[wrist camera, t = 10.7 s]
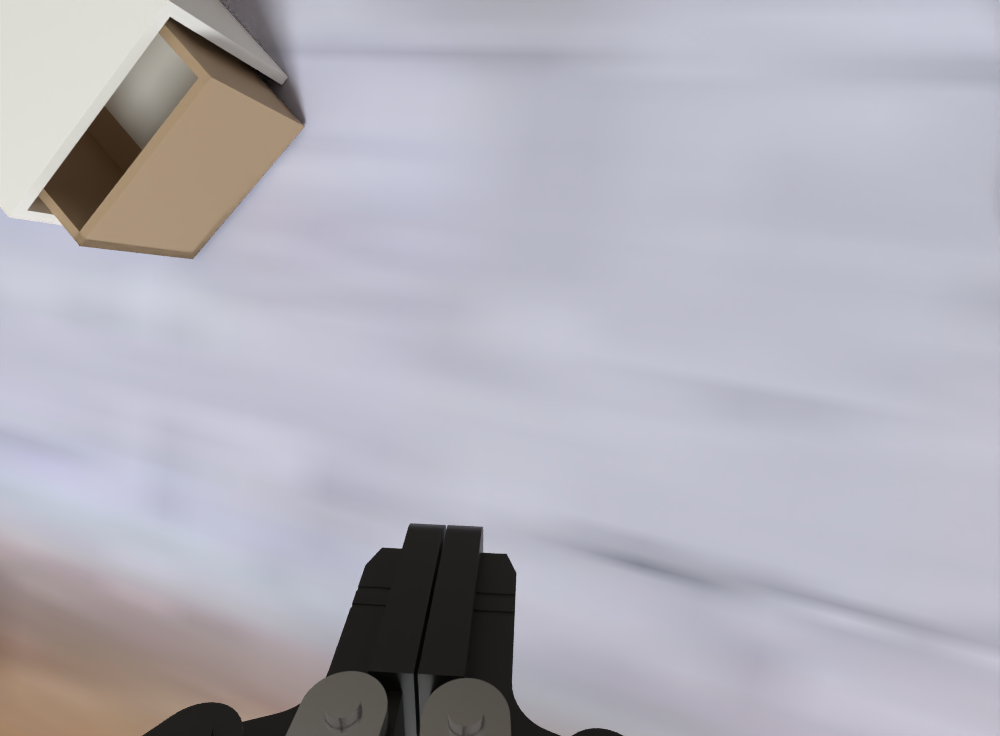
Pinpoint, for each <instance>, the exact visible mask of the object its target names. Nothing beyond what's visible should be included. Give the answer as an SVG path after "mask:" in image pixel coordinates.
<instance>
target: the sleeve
mask: <svg viewBox="0 0 1000 736" xmlns="http://www.w3.org/2000/svg"><path fill="white" fill-rule="evenodd" d="M169 17H171V18H173V19H174V20H176V21H178V22H179V23H181V24H183V25H184V26H186V27H188V28H189V29H191V30H193V31H194V32H196V33H197V34H199V35H201V36H202V37H204V38H206V39H207V40H209V41H211V42H212V43H214V44H216V45H217V46H219V47H220V48H222V49H224V50H225V51H227V52H229V53H230V54H232V55H234V56H235V57H237V58H239V59H240V60H242V61H243V62H245V63H247V64H248V65H250V66H252V67H253V68H255V69H257V70H258V71H260V72H262V73H263V74H265V75H266V76H268V77H270V78H271V79H273V80H275V81H276V82H278V83H280V84H281V85H282V84H283V83H284V82H285V81H286V79H287V78H288V76H287V75H286V74H285V73H284V72H283V71H282V70H281V68H280V67H279V66H278V65H277V64H276V63H275V62H274V61H273V60H272V59H271V57H270V56H269V55H268V54H267V53H266V52H265V51H264V50H263V49H262V47H261V46H260V45H259V44H258V43H257V42H256V41H255V40H254V39H253V38H252V36H251V35H250V34H249V33H248V32H247V31H246V30H245V29H244V28H243V26H242V25H241V24H240V23H239V22H238V21H237V20H236V19H235V18H234V17H233V15H232V14H231V13H230V12H229V11H228V10H227V9H226V8H225V7H224V5H223V4H222V3H221V2H220V1H219V0H0V207H1V208H2V209H3V211H4V212H5V213H6V214H7V216H8V217H11V218H17V219H24V220H31V221H38V222H45V223H51V224H58V225H62V224H61V223H60V221H59V220H58V219H57V218H56V217H55V215H54V214H53V213H52V212H51V211H50V209H49V208H48V207H47V206H46V205H45V203H44V202H43V201H42V200H41V198H40V197H39V196H38V195H39V194H40V192H41V191H42V190H43V188H44V187H45V185H46V184H47V183H48V181H49V180H50V179H51V177H52V176H53V175H54V173H55V172H56V171H57V169H58V168H59V166H60V165H61V164H62V162H63V161H64V160H65V158H66V157H67V156H68V154H69V153H70V152H71V150H72V149H73V148H74V146H75V145H76V143H77V142H78V141H79V139H80V138H81V137H82V135H83V134H84V133H85V131H86V130H87V129H88V127H89V126H90V124H91V123H92V122H93V120H94V119H95V118H96V116H97V115H98V114H99V112H100V111H101V110H102V108H103V107H104V105H105V104H106V103H107V101H108V100H109V99H110V97H111V96H112V95H113V93H114V92H115V91H116V89H117V88H118V86H119V85H120V84H121V82H122V81H123V80H124V78H125V77H126V76H127V74H128V73H129V72H130V70H131V69H132V68H133V66H134V65H135V63H136V62H137V61H138V59H139V58H140V57H141V55H142V54H143V53H144V51H145V50H146V49H147V47H148V46H149V44H150V43H151V42H152V40H153V39H154V38H155V36H156V35H157V34H158V32H159V31H160V30H161V28H162V27H163V25H164V24H165V23H166V21H167V20H168V19H169Z"/></svg>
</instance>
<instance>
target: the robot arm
mask: <svg viewBox="0 0 1000 736" xmlns="http://www.w3.org/2000/svg"><path fill="white" fill-rule="evenodd" d="M515 592H516V572H515V570H514V568H513V566H512V564H511V562H510V560H509V558H508V556H507V554H495V553H483V527H475V526H455V525H448V526H447V530H446V526H445V525H432V524H413V523H411V524H410V525H409V527H408V530H407V534H406V537H405V541H404V544H403V548H402V549H397V548H381V549H380V551H379V552H378V553H377V554H376V555H375V556H374V557H373V558H372V559H371V560H370V561H369V562H368V563H367V564H366V566H365V568H364V571H363V574H362V577H361V580H360V583H359V586H358V590H357V591H356V594H355V597H354V600H353V603H352V608H350V611H349V614H348V617H347V620H346V623H345V626H344V628H343V631H342V634H341V637H340V640H339V643H338V646H337V648H336V651H335V654H334V657H333V660H332V663H331V666H330V668H329V671H328V673H327V676H326V678H324V679H322V680H321V681H319V682H318V683H317V684H315V685H314V686H313V687H312V688H311V689H310V690H309V691H308V692H307V694H306V695H305V696H304V698H303V700H302V702H301V703H300V704H299V705H297V706H295V707H293V708H291V709H289V710H287V711H284V712H280V713H277V714H273V715H269V716H265V717H261V718H257V719H252V720H248V721H244V722H242V721H241V718H240V716H239V715H238V713H237V712H236V711H235V710H234V709H233V708H231V707H229V706H228V705H225V704H222V703H215V702H210V703H201V704H196V705H193V706H190V707H187V708H185V709H183V710H181V711H179V712H177V713H176V714H174V715H172V716H171V717H169V718H168V719H166V720H165V721H163V722H162V723H161V724H159V725H158V726H156V727H155V728H153V729H152V730H150V731H149V732H147V733H146V734H144V735H143V736H560V735H557V734H555V733H552V732H550V731H547V730H545V729H543V728H541V727H539V726H538V725H536V724H535V723H533V722H532V721H531V720H530V719H528V718H527V717H526V716H525V714H524V713H523V712H522V711H521V710H520V708H519V706H518V705H517V703H516V700H515V698H514V695H513V690H512V665H513V641H514V616H515ZM572 736H623V735H621V734H619V733H617V732H614V731H611V730H607V729H601V728H592V729H586V730H583V731H580V732H578V733H576V734H574V735H572Z"/></svg>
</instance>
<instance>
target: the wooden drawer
mask: <svg viewBox="0 0 1000 736" xmlns="http://www.w3.org/2000/svg"><path fill="white" fill-rule="evenodd" d="M304 127H305V126H304V125H303V124H302V123H301V122H300V121H299V120H298V119H297V118H296V116H295V115H294V114H293V113H292V112H291V111H290V110H289V109H288V108H287V106H286V105H285V104H284V103H283V102H282V101H281V100H280V99H279V98H278V96H277V95H276V94H275V93H274V92H273V91H272V90H271V89H270V88H269V86H268V85H267V84H266V83H265V82H264V81H263V80H262V79H261V77H260V76H259V75H258V74H257V73H256V72H255V71H254V70H253V69H252V67H251V66H250V65H248V64H247V63H245V62H243V61H242V60H240V59H239V58H237V57H235V56H234V55H232V54H230V53H229V52H227V51H225V50H224V49H222V48H220V47H219V46H217V45H216V44H214V43H212V42H211V41H209V40H207V39H206V38H204V37H202V36H201V35H199V34H197V33H196V32H194V31H193V30H191V29H189V28H188V27H186V26H184V25H183V24H181V23H179V22H178V21H176V20H174V19H173V18H171V17H169V19H168V20H167V21H166V23H165V24H164V25H163V27H162V28H161V30H160V31H159V32H158V34H157V35H156V36H155V38H154V39H153V40H152V42H151V43H150V44H149V46H148V47H147V49H146V50H145V51H144V53H143V54H142V55H141V57H140V58H139V59H138V61H137V62H136V63H135V65H134V66H133V68H132V69H131V70H130V72H129V73H128V74H127V76H126V77H125V78H124V80H123V81H122V82H121V84H120V85H119V86H118V88H117V89H116V91H115V92H114V93H113V95H112V96H111V97H110V99H109V100H108V101H107V103H106V104H105V105H104V107H103V108H102V110H101V111H100V112H99V114H98V115H97V116H96V118H95V119H94V120H93V122H92V123H91V124H90V126H89V127H88V129H87V130H86V131H85V133H84V134H83V135H82V137H81V138H80V139H79V141H78V142H77V143H76V145H75V146H74V148H73V149H72V150H71V152H70V153H69V154H68V156H67V157H66V158H65V160H64V161H63V162H62V164H61V165H60V166H59V168H58V169H57V171H56V172H55V173H54V175H53V176H52V177H51V179H50V180H49V181H48V183H47V184H46V185H45V187H44V188H43V190H42V191H41V192H40V194H39V195H38V196H39V197H40V198H41V200H42V201H43V202H44V203H45V205H46V206H47V207H48V208H49V209H50V211H51V212H52V213H53V214H54V215H55V217H56V218H57V219H58V220H59V221H60V223H61V224H62V225H63V226H64V227H65V229H66V230H67V231H68V232H69V234H70V235H71V236H72V237H73V238H74V240H75V241H76V242H77V243H78V244H79V246H84V247H92V248H101V249H110V250H118V251H127V252H136V253H144V254H153V255H162V256H170V257H179V258H188V259H193V258H194V257H195V256H196V255H197V253H198V252H199V251H200V250H201V249H202V248H203V246H204V245H205V244H206V243H207V242H208V240H209V239H210V238H211V237H212V236H213V234H214V233H215V232H216V231H217V230H218V229H219V227H220V226H221V225H222V224H223V223H224V221H225V220H226V219H227V218H228V217H229V216H230V214H231V213H232V212H233V211H234V210H235V208H236V207H237V206H238V205H239V204H240V202H241V201H242V200H243V199H244V198H245V197H246V195H247V194H248V193H249V192H250V191H251V189H252V188H253V187H254V186H255V185H256V184H257V182H258V181H259V180H260V179H261V178H262V176H263V175H264V174H265V173H266V172H267V170H268V169H269V168H270V167H271V166H272V165H273V163H274V162H275V161H276V160H277V159H278V157H279V156H280V155H281V154H282V153H283V152H284V150H285V149H286V148H287V147H288V146H289V144H290V143H291V142H292V141H293V140H294V138H295V137H296V136H297V135H298V134H299V133H300V131H301V130H302V129H303V128H304Z"/></svg>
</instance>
